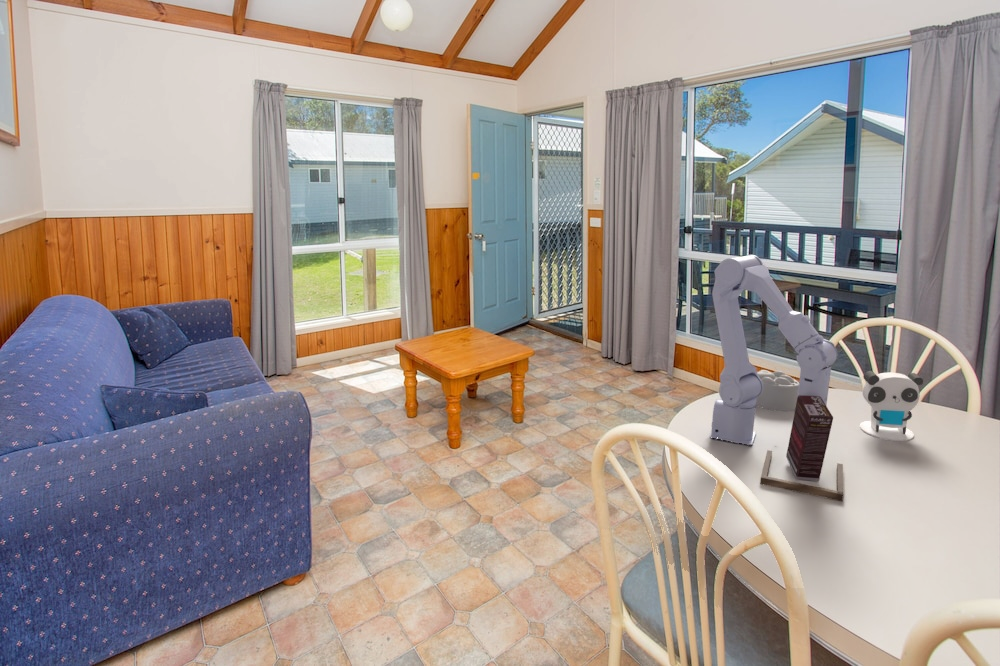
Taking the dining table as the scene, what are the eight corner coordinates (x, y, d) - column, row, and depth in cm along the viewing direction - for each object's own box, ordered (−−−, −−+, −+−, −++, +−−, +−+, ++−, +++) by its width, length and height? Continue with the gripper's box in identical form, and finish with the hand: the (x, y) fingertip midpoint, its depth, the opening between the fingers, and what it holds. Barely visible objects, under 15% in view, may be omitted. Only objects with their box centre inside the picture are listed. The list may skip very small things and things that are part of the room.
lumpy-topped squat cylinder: (757, 392, 174) (760, 364, 172) (803, 404, 165) (807, 375, 163) (740, 402, 168) (743, 373, 165) (788, 415, 158) (791, 384, 156)
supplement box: (820, 482, 125) (834, 417, 118) (795, 480, 125) (808, 416, 119) (808, 457, 132) (821, 395, 126) (785, 456, 133) (796, 394, 127)
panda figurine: (865, 438, 144) (874, 380, 140) (850, 419, 155) (858, 365, 151) (921, 443, 141) (932, 383, 137) (902, 423, 152) (912, 367, 148)
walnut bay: (760, 483, 124) (760, 477, 124) (766, 456, 136) (767, 450, 136) (842, 501, 117) (843, 494, 117) (841, 470, 129) (842, 464, 129)
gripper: (833, 410, 121) (825, 471, 125) (833, 387, 133) (826, 443, 137) (795, 405, 124) (788, 464, 128) (798, 383, 137) (792, 437, 140)
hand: (805, 453), depth 133 cm, fingers closed, pressing on supplement box
